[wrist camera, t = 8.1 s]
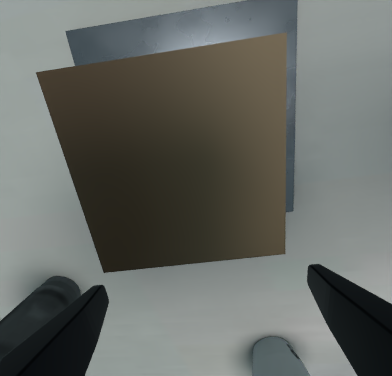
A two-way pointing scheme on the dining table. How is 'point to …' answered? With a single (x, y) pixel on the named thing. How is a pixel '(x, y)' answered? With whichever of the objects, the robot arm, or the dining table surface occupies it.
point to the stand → (199, 44)
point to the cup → (276, 359)
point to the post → (178, 151)
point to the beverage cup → (36, 311)
